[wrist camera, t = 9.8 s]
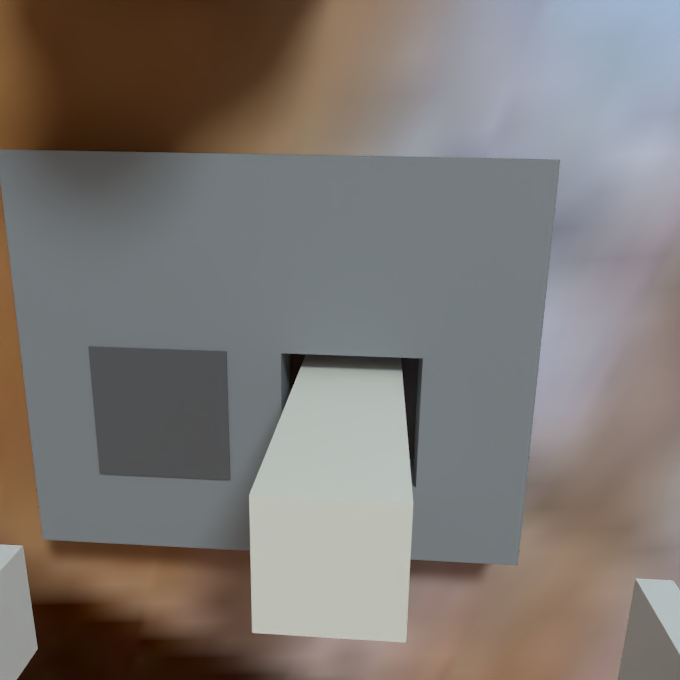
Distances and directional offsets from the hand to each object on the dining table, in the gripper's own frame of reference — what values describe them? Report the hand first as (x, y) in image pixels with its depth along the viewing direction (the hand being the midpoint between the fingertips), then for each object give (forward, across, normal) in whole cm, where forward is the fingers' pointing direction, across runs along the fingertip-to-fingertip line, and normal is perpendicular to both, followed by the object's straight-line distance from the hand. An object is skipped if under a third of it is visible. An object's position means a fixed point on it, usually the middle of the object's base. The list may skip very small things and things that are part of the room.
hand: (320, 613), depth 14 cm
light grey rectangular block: (+14, 0, -1) cm, 14 cm away
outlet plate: (+14, -3, +1) cm, 15 cm away
